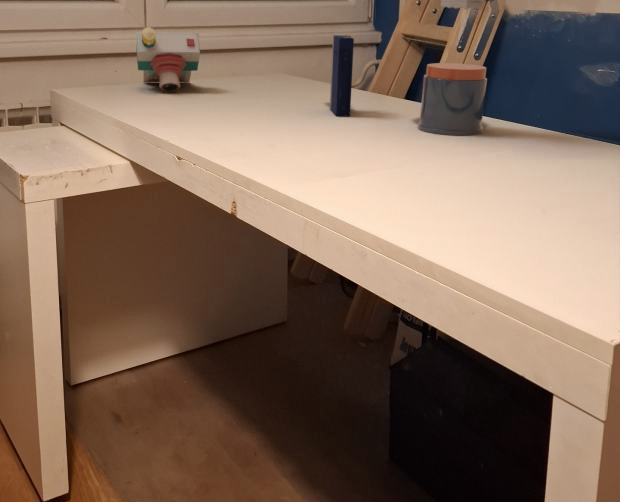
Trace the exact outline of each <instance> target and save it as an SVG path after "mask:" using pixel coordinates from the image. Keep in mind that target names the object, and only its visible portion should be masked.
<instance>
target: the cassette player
mask: <svg viewBox="0 0 620 502" xmlns="http://www.w3.org/2000/svg"><path fill="white" fill-rule="evenodd" d="M354 42H355V38H354V37H352V36H351V35H349V34H348V35H346V34H332V48H331V49H332V50H331V67H330V68H331V69H330V92H329V93H330V94H329V110H330V111H331V112H332V113H333V114H334V115H335V116H336V117H350V116H351V103H352V84H353V67H354V66H353V65H354V46H355V45H354Z"/></svg>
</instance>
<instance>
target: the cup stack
mask: <svg viewBox="0 0 620 502" xmlns="http://www.w3.org/2000/svg"><path fill="white" fill-rule="evenodd" d="M486 76H487V67H486V66H484V65H477V64H471V63H470V64H469V63H456V62H455V63H454V62H453V63H452V62H436V63H428V64H426V71H425V74H424V75H423V82H422V92H421V93H422V94H421V103H420V104H421V105H420V114H419V122H417V124H416V125H417V127H416V128H417V129H418V130H419V131H422V132H426V133H429V134H435V135H436V134H437V135H446V136H474V135H475V136H476V135H479V134H481V133H483V131H484V126H482V125H483V124H482V123H483V117H484V109H485V102H486V101H485V99H486V92H487V84H488V78H487V77H486Z"/></svg>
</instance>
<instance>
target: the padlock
mask: <svg viewBox="0 0 620 502" xmlns="http://www.w3.org/2000/svg"><path fill="white" fill-rule="evenodd" d="M440 7H441V8H444V9H445V8H447V9H451V8H454V9H455V10H458V9H464V10H469V9H472V10H476V9H477V10H479V11H482V10H484V9H485V0H440Z"/></svg>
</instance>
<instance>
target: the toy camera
mask: <svg viewBox="0 0 620 502" xmlns="http://www.w3.org/2000/svg"><path fill="white" fill-rule="evenodd" d="M154 29H155V28H153V27H150V26H147V27H143V30H142V31H136V32H135V34H136V35H135V38H136V40H135V42H136V44H135V45H136V46H135V47H136V62H137V71H143V79H142V81H143V83H158V84H159V85H158V86H159V87H158V88H160V89H161V90H162V91H166V92H174V91H178V90H179V89H180V88H181V83H185V84H187V83H188V84H189V83H190V81H191V75H192V72H193V71H194V72H195V71H198V69H199V62H200V57H201V48H200V35H199V33H198V32H170V31H169V32H168V31H165V32H164V31H155V30H154Z"/></svg>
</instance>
